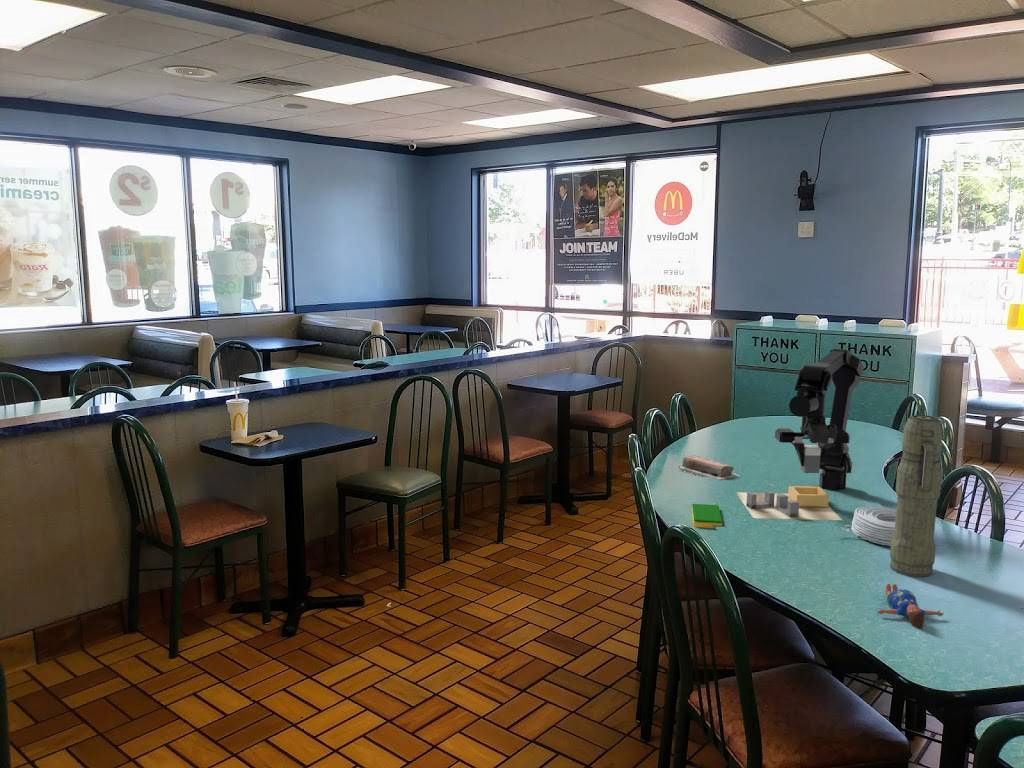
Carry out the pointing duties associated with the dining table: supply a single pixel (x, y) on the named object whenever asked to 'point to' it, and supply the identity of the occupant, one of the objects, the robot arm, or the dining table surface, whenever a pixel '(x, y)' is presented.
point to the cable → (874, 524)
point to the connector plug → (811, 459)
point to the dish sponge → (706, 515)
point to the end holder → (808, 496)
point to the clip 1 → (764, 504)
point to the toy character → (906, 606)
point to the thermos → (917, 497)
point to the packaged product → (707, 468)
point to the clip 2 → (787, 506)
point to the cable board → (775, 514)
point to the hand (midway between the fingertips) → (810, 465)
